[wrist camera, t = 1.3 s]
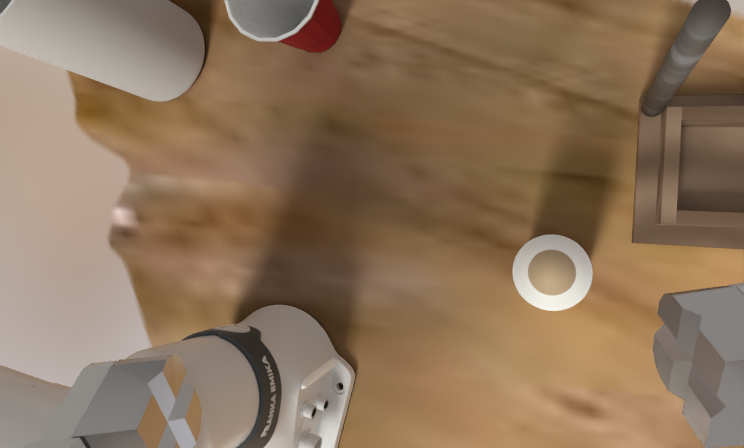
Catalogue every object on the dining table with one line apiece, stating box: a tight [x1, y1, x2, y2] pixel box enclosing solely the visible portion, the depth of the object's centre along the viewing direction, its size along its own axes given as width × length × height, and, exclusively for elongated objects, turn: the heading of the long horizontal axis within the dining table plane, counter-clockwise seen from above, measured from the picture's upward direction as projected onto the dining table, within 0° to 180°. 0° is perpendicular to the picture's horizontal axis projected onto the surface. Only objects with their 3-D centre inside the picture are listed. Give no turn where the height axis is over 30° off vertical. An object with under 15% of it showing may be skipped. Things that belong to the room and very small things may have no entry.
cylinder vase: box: [0, 0, 205, 101], centre depth 61 cm, size 12×12×25 cm
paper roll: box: [513, 235, 593, 311], centre depth 49 cm, size 6×6×13 cm
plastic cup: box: [224, 0, 341, 52], centre depth 60 cm, size 11×11×12 cm
